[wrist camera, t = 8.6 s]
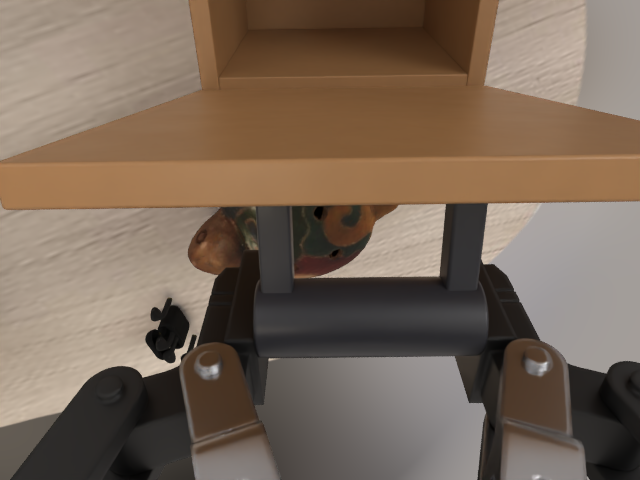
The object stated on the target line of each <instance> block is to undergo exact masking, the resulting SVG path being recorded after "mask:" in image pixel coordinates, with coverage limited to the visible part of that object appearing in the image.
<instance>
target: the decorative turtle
mask: <svg viewBox="0 0 640 480" xmlns="http://www.w3.org/2000/svg"><path fill="white" fill-rule="evenodd" d="M397 206H398V205H330V206H292V224H293V250H294V277H295V278H312V277H316V276H321V275H324V274H327V273H329V272H332V271H334V270H336V269H339V268H340V267H342V266H344V265H346V264H347V263H349V262H350V261H352V260H353V259H354V258H355V257H356V256H358V255H359V254H360V252H361V251H362V250H363V249H364V248H365V246H366V244H367V243H368V241H369V239H370V237H371V234H372V230H373V226H374V224H375V222H376V221H377V220H378V219H380V218H381V217H383V216H384V215H386V214H388V213H389V212H391V211H393V210H394V209H396V208H397ZM244 250H258V237H257V223H256V208H255V207H221V208H220V209H219V210H218V211H217V212H216V213H215V214H214V215H213V216H212V217H211V218H209V219H208V220H207V221H206V222H205V223H204V224H203V225H202V226H201V228H200V229H199V230H198V231H197V233H196V234H195V236H194V237H193V238H192V240H191V243H190V246H189V249H188V257H189V259H190V262H191V263H192V264H193V265H194V266H195V267H196V268H197V269H199V270H201V271H204V272H207V273H211V274H214V275H219V274H220V273H221V272H222V271H223V270H224V269H225V268H226V267H240V264H241V259H242V255H243V251H244Z"/></svg>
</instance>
